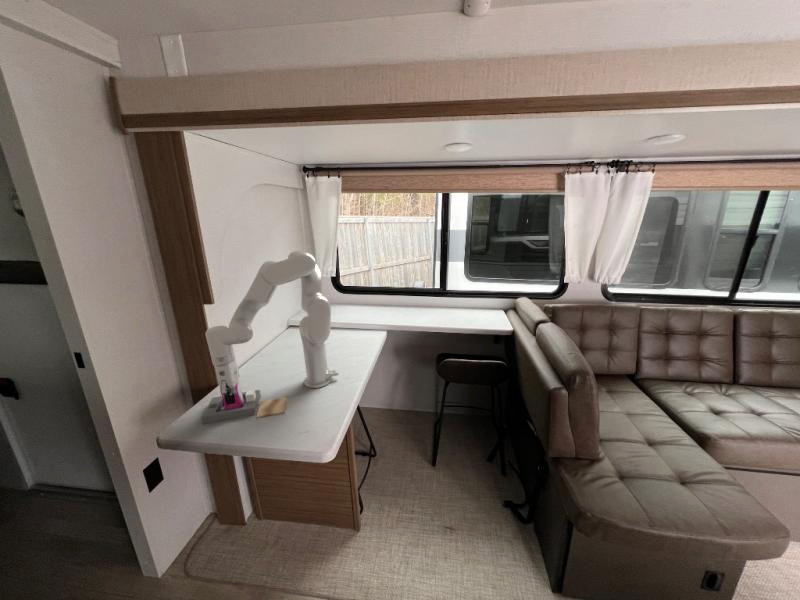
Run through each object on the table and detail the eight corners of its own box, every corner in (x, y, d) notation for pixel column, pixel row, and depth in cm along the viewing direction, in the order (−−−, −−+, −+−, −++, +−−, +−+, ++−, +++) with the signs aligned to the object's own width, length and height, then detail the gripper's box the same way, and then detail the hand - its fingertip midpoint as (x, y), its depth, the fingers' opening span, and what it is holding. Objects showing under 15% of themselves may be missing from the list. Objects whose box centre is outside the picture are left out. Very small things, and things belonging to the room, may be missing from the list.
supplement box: (228, 405, 120) (222, 380, 117) (244, 401, 122) (238, 376, 119) (225, 413, 115) (219, 387, 111) (242, 409, 117) (236, 384, 113)
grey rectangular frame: (260, 395, 126) (258, 383, 125) (255, 414, 114) (252, 401, 113) (213, 403, 122) (210, 391, 120) (202, 424, 110) (199, 410, 108)
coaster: (286, 398, 124) (286, 397, 124) (284, 412, 115) (284, 411, 114) (261, 402, 121) (260, 401, 121) (256, 418, 112) (256, 416, 112)
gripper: (228, 366, 105) (238, 409, 110) (239, 347, 121) (248, 385, 126) (204, 370, 103) (216, 414, 108) (219, 350, 119) (228, 388, 124)
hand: (233, 398), depth 117 cm, fingers closed on supplement box, 6 cm apart
